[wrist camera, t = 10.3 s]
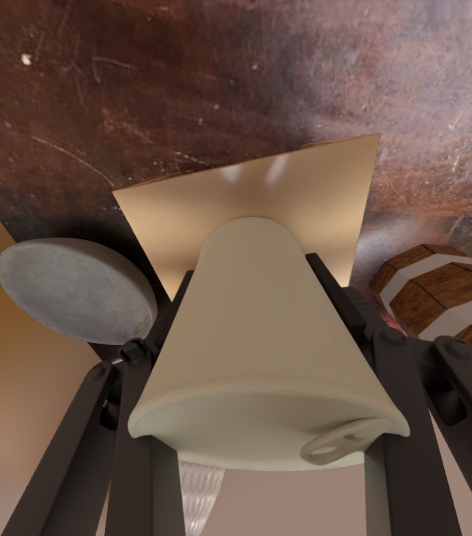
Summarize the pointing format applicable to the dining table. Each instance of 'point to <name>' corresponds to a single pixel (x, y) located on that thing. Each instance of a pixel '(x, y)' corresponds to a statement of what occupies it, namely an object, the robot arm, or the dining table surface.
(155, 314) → the bowl
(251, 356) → the can
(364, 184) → the shelf
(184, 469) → the vase
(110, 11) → the dining table surface
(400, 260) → the mug
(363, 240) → the dining table surface
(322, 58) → the dining table surface
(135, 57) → the dining table surface
